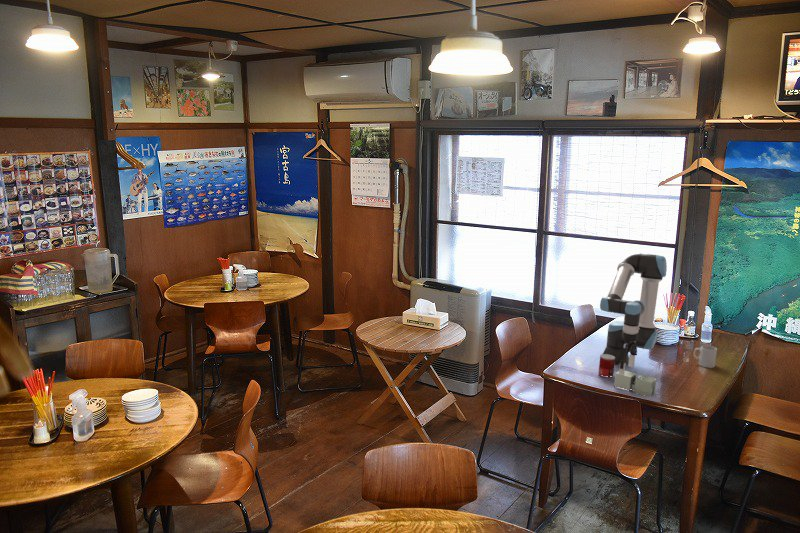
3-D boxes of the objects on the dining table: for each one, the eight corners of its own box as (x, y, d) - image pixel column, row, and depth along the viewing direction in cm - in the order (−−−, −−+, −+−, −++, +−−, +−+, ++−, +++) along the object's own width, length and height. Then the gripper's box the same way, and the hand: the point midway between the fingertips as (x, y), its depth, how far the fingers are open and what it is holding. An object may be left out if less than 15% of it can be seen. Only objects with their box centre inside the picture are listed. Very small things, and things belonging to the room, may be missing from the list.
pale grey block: (614, 387, 328) (615, 373, 326) (619, 383, 333) (620, 369, 332) (649, 397, 316) (651, 382, 315) (654, 393, 322) (656, 378, 320)
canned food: (611, 379, 339) (613, 360, 337) (596, 375, 343) (598, 356, 341) (614, 374, 345) (616, 355, 343) (600, 371, 350) (602, 352, 347)
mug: (715, 364, 365) (718, 347, 363) (713, 369, 358) (715, 351, 356) (693, 360, 372) (696, 342, 369) (690, 364, 365) (693, 346, 363)
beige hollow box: (613, 387, 328) (615, 373, 326) (619, 383, 333) (620, 369, 332) (630, 392, 323) (631, 377, 321) (635, 387, 328) (637, 373, 326)
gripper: (628, 340, 310) (624, 379, 315) (646, 327, 329) (641, 365, 334) (614, 336, 314) (610, 375, 320) (632, 324, 333) (627, 361, 338)
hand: (626, 370), depth 327 cm, fingers open, 13 cm apart
